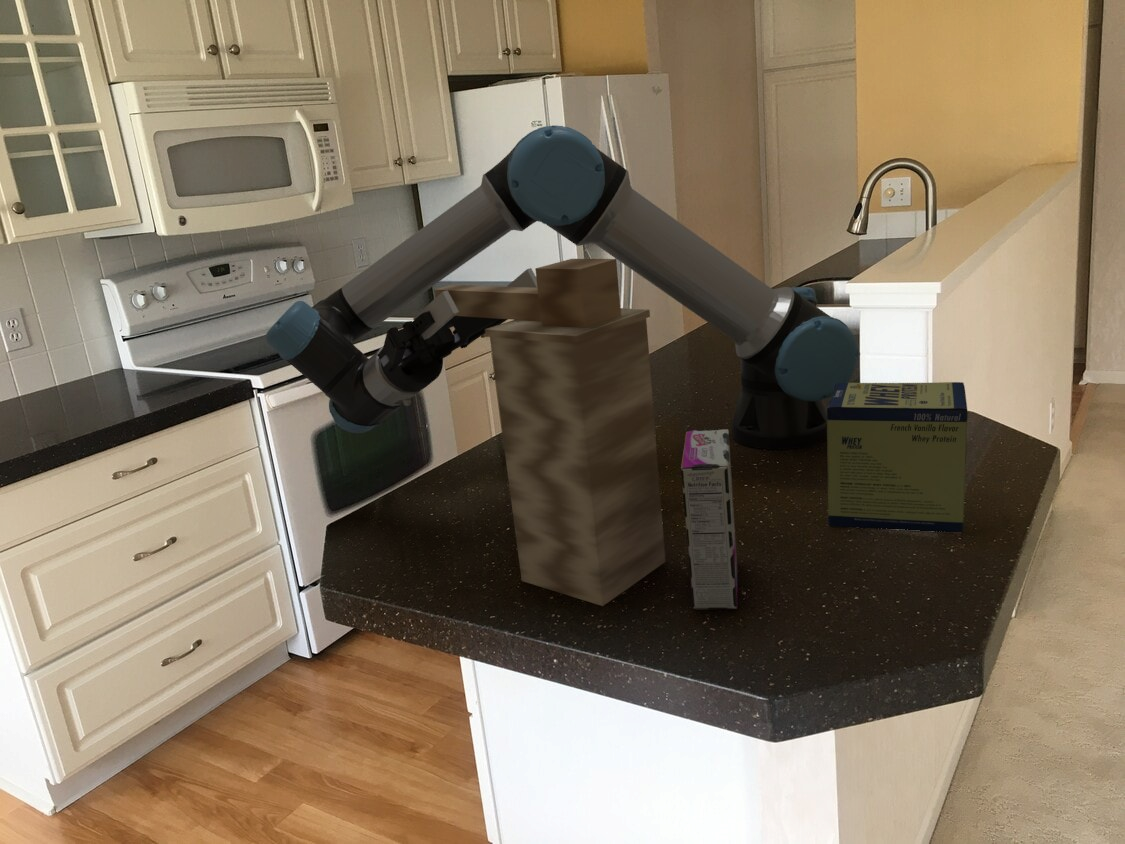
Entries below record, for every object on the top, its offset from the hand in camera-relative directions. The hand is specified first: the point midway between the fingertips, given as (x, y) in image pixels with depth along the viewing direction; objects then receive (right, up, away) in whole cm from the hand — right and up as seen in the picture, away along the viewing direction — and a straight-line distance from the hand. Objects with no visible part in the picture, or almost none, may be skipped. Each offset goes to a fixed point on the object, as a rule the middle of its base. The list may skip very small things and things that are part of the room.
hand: (494, 289), depth 106 cm
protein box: (+49, -27, +10) cm, 57 cm away
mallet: (+3, -3, -1) cm, 5 cm away
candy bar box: (+25, -33, -3) cm, 41 cm away
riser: (+11, -33, +3) cm, 35 cm away
